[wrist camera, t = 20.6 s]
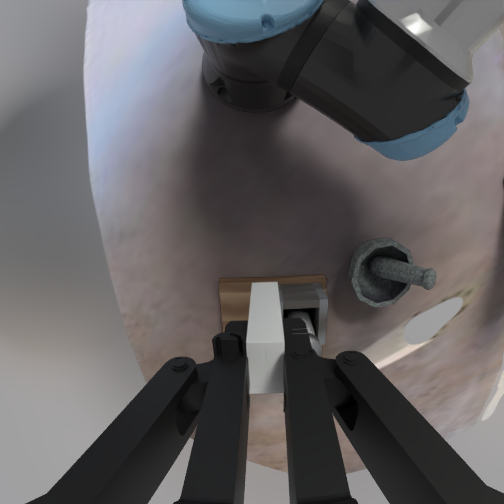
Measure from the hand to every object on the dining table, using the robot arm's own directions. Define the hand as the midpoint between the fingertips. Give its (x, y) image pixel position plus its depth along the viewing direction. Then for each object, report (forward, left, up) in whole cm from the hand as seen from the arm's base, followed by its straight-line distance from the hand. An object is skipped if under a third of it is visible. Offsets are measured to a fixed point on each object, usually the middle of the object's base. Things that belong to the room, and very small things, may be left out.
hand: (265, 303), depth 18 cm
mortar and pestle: (+6, +17, -27) cm, 32 cm away
